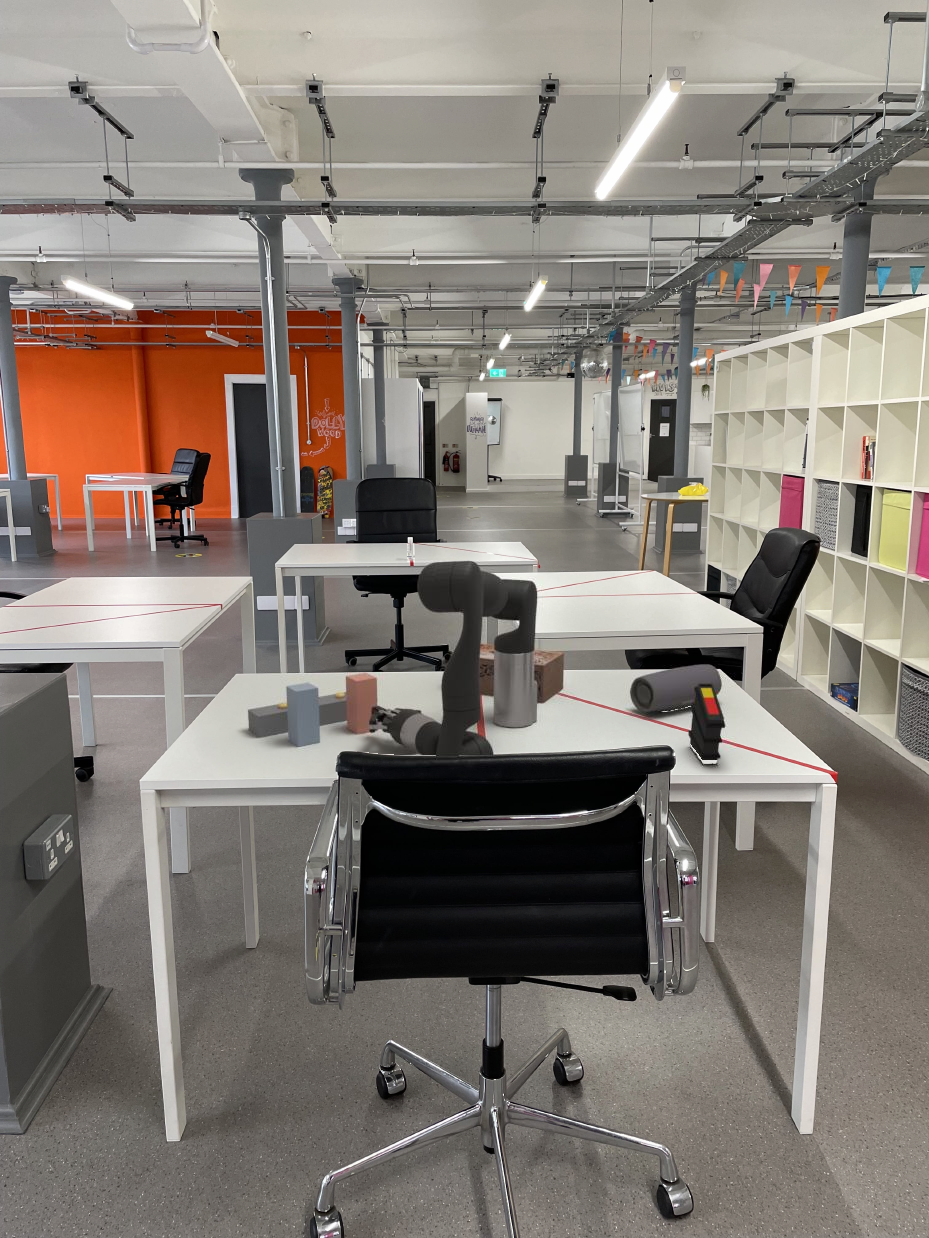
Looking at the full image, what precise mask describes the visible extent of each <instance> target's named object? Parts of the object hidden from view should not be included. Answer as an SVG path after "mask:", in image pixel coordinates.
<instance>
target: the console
mask: <svg viewBox="0 0 929 1238" xmlns="http://www.w3.org/2000/svg"><path fill="white" fill-rule="evenodd" d="M247 715H248V716H247V718H248V720H247V721H248V732H250V733H251V734H252V735H255V736H256V737H257V738H259V739H262V738H266V737H273V736H276V735H277V736H278V735H281V734H288V717H287V702H280V703H278V704H273V705H265V706H261V707H256V708H250V709H247ZM343 722H347V705H346V691H345V692H336V693H333V694H328V695H322V696H319V725H320V727H322V726H327V725H332V724H337V723H343Z"/></svg>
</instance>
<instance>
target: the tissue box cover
mask: <svg viewBox="0 0 929 1238" xmlns="http://www.w3.org/2000/svg"><path fill="white" fill-rule="evenodd" d="M452 654H453V652H452V653H450V655H449V656H450V657H451V656H452ZM450 657H449V658H450ZM564 662H565V652H560V651H558V652H557V651H552V650H551V651H550V650H549V651H548V650H540V649H534V680H535V681H537V704H545V703H546V702H548V701H550V699H552V698H553V697H554V696H556V695H557V694H559V693H560V692H561V691H562V689H563V690H564V678H565V677H564V671H565V670H564V669H565V667H564V666H565V665H564V664H565V663H564ZM479 686H480V696H486V697H493V698H494V644H489V643H488V644H487V643H481V646H480V660H479Z"/></svg>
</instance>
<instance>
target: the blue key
mask: <svg viewBox="0 0 929 1238" xmlns="http://www.w3.org/2000/svg"><path fill="white" fill-rule="evenodd" d="M285 689H286V703H287V717H288V733H287V737H288V741H289V742H290V743H292V744H293V745H295V746H296V747H297V748H299V747H305V746H309V745H314V744H319V743H320V742H321V731H320V727H321V726H320V725H319V697H320V696H319V687H317V686H315V685H313V684H312V683H309V682H304V683H303V682H302V683H298V684H297V683H296V684H291V685H285Z"/></svg>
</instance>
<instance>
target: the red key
mask: <svg viewBox="0 0 929 1238" xmlns="http://www.w3.org/2000/svg"><path fill="white" fill-rule="evenodd" d="M345 692H346V705H347V721H346V727H347V729H348V730H349V731H351V732H353V733H355V734H356V735H361V734H366V733H370V732H369V720H370V718H371V709H372V707H374V706H378V677H376V676H374V675H372V674H370V673H367V672H362V673H357V674H350V675H345Z"/></svg>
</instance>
